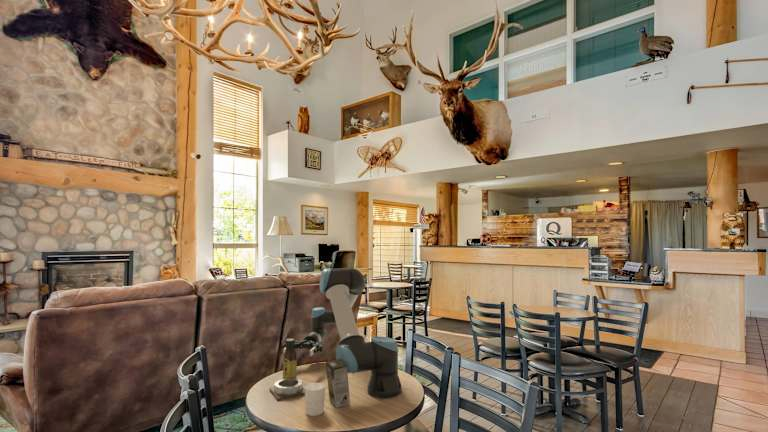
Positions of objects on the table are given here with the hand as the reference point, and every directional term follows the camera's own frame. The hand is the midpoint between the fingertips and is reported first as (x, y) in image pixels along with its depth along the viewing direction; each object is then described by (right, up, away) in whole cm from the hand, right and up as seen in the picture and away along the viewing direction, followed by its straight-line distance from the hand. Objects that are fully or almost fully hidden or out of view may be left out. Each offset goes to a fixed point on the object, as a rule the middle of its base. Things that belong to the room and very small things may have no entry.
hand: (297, 352), depth 200 cm
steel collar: (+1, -10, -21) cm, 23 cm away
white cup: (+15, -10, -40) cm, 44 cm away
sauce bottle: (-2, -11, -10) cm, 15 cm away
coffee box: (+24, -10, -31) cm, 41 cm away
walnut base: (+1, -10, -21) cm, 23 cm away
